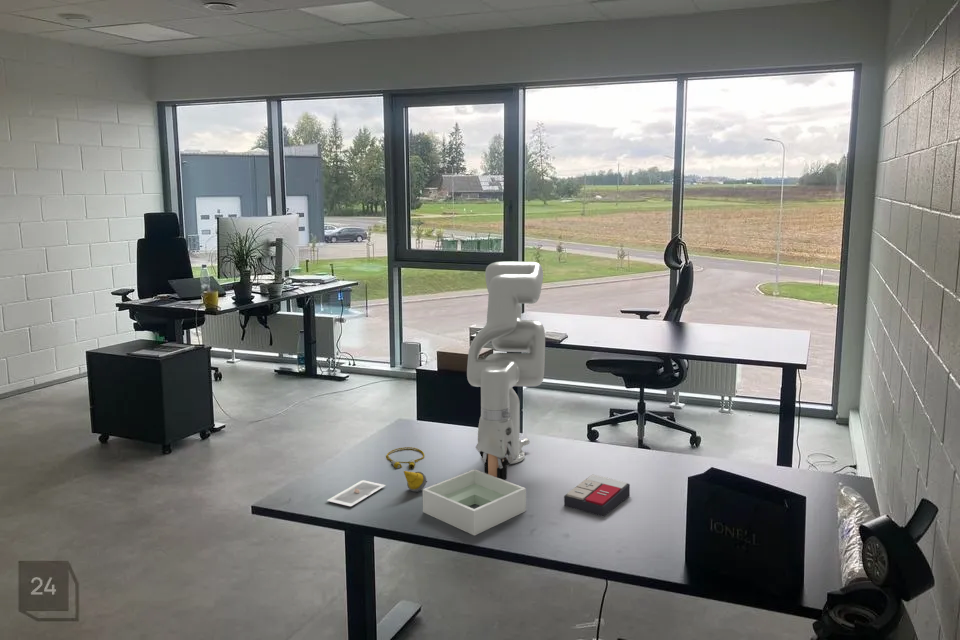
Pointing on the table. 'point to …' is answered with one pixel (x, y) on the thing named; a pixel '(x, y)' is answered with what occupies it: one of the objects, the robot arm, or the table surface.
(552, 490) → the table surface
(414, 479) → the yellow tapered spiral part
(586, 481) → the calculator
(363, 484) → the white grey flat rectangle
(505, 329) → the robot arm
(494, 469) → the peg
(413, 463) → the extension cord
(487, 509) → the holed box
